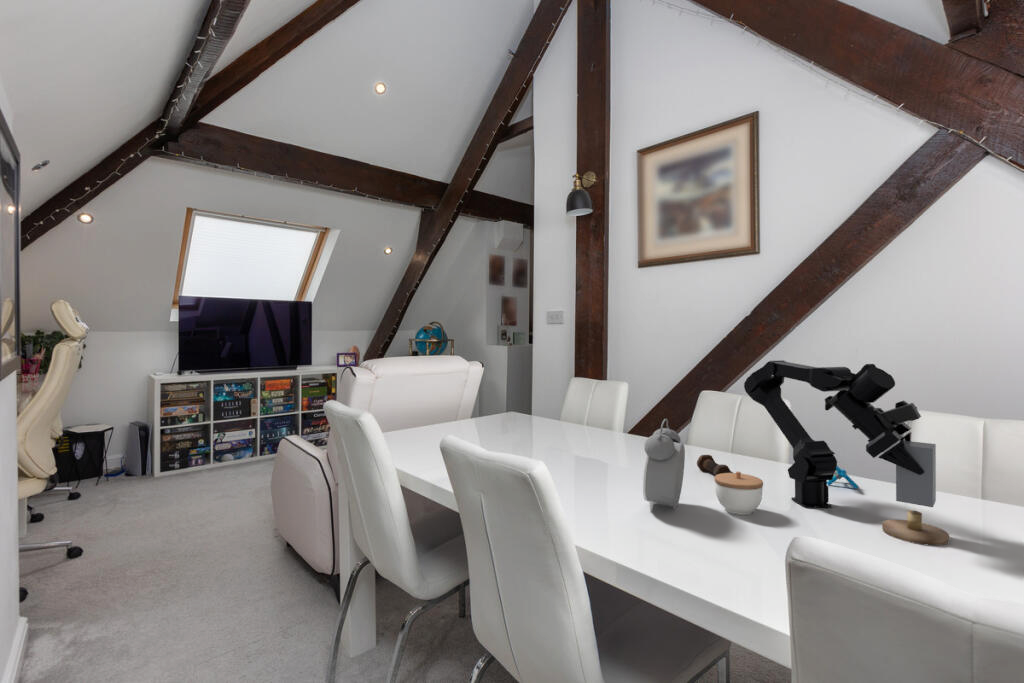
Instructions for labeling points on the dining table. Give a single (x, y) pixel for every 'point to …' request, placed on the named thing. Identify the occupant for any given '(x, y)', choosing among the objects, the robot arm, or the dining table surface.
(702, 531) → the dining table surface
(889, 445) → the robot arm
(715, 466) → the bolt
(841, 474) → the blue thin-armed part
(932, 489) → the block
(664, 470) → the alarm clock
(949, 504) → the dining table surface
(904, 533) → the stub base
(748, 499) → the lidded jar
